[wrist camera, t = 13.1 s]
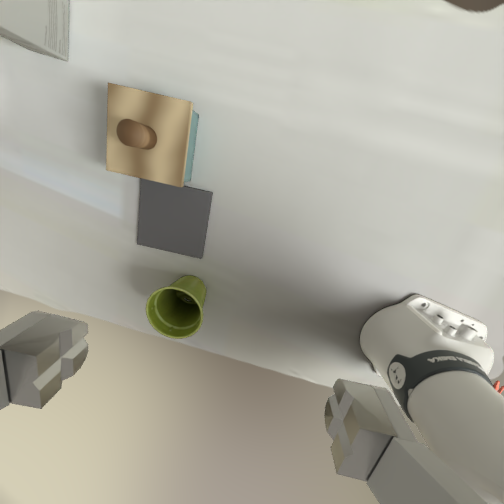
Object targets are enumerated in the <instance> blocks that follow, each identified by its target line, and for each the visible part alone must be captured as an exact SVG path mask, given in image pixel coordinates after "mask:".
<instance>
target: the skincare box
mask: <svg viewBox="0 0 504 504" xmlns="http://www.w3.org/2000/svg"><path fill="white" fill-rule="evenodd" d="M68 34H69V0H0V35H1V36H3V37H5V38H7V39H9V40H11V41H13V42H15V43H17V44H19V45H21V46H23V47H25V48H27V49H29V50H32V51H35V52H38V53H42V54H45V55H48V56H51V57H55V58H58V59H61V60H65V61H68Z"/></svg>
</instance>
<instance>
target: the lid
mask: <svg viewBox="0 0 504 504" xmlns="http://www.w3.org/2000/svg"><path fill="white" fill-rule="evenodd" d="M192 109H193V103H192V102H189V101H185V100H181V99H177V98H172V97H168V96H164V95H159V94H155V93H151V92H146V91H142V90H138V89H133V88H129V87H125V86H120V85H116V84H112V83H108V106H107V159H106V170H107V171H112V172H116V173H121V174H125V175H129V176H134V177H138V178H142V179H147V180H151V181H155V182H160V183H164V184H169V185H173V186H177V187H183V184H184V176H185V168H186V159H187V151H188V143H189V134H190V126H191V118H192Z"/></svg>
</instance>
